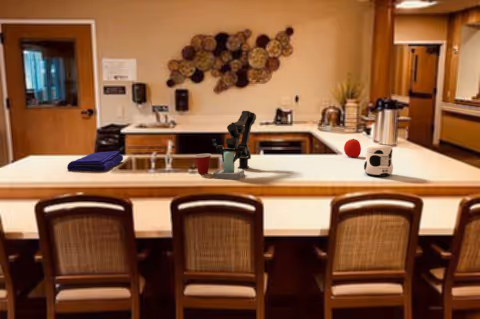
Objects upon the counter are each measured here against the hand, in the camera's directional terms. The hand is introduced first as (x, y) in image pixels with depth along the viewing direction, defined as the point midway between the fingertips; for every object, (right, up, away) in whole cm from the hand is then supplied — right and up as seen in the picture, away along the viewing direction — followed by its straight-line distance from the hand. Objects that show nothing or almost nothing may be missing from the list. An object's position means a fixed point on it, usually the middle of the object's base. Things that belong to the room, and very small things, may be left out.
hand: (228, 161), depth 290 cm
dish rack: (0, -9, +3) cm, 9 cm away
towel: (-89, -4, +32) cm, 95 cm away
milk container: (+93, -9, +10) cm, 94 cm away
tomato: (+92, +3, +72) cm, 117 cm away
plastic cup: (-16, -8, +11) cm, 21 cm away
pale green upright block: (0, -6, +2) cm, 7 cm away
